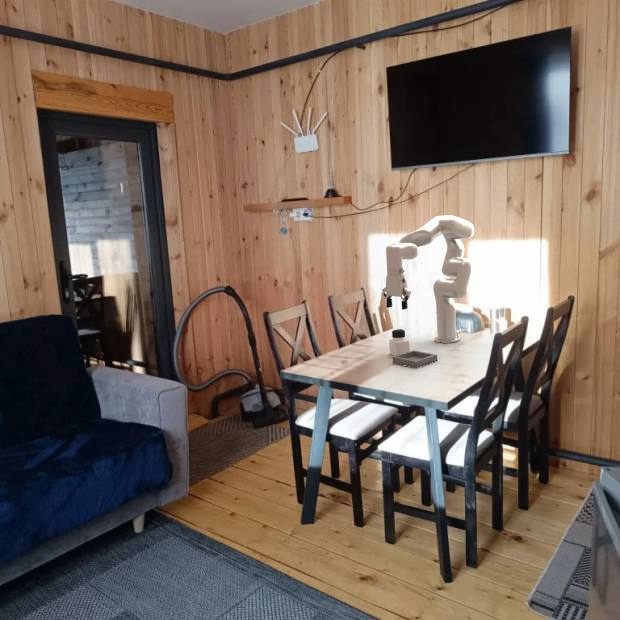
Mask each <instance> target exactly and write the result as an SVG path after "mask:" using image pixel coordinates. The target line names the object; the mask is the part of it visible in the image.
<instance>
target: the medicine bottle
mask: <svg viewBox="0 0 620 620" xmlns="http://www.w3.org/2000/svg"><path fill="white" fill-rule="evenodd" d="M388 343H389V345H388V348H389V354H390V355H391V354H392V355H391V356H393V355H394V356H397V355H400V354H403V353H406V352H410V351H411V350H410V340H409V339H406V331H405V329H402V328H397V329H393V330H392V331H391V339H389V340H388ZM394 356H393V357H394Z"/></svg>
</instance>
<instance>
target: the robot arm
mask: <svg viewBox="0 0 620 620" xmlns="http://www.w3.org/2000/svg"><path fill="white" fill-rule="evenodd" d="M474 234H475V227H474V225H473V223H471V221H469V220H466V219H463V218H461V217H458V216H455V215H438V216H434V218H431V220H430V221H428V222H426V224H424V226H421V228H418V229H417V230H414V231H413V232H410V233H408V234H406V235H404V236H403V235H402V237H400V238H398V239H397V240H396V241H395V242H394V243H392V244H391V245H388V246H386V247H385V253H386V254H385V255H386V259H385V260H386V277H385V287H384V288H382V289H381V291H382V295H383V296H384V299H385V300H386V301H385V302H386V308H388V309H389V308H392V307H393V298H392V297H400V298H401V310H403V311H404V310H407V309H408V301H409V298H410V297H411V294H412V291H411V290H409V289H408V282H407V278H406V274H404V273H405V269H404V260H414V259H415V258H417V256H418V255H419V252H420V251H419V250H420V249H419V247H424V246H427V245H429V244H431V243H432V242H434V241H435V240H436V239H437V238H439V237H440V236H441V235H442V236H443V238H444V240H445V243H446V253H445V256H444V258H443V263H442V266H441V273H442V275H444V276H445V277H450V278H439V279H437V280H436V281H434V283H433V287H432V288H433V289H432V290H433V295H434V298H435V306H436V307H435V309H436V331H437V332H436V334H437V336H435V337H434V342H437V343H440V342H441V343H443V344H447V343H449V344H451V343H457V342H460V340H461V338H460V336H458V335H459V334H462V332H463V330H462V329H459V330H458V329H457V311H456V310H457V308H456V303H455V300H454V299H459V300H461V299H464V298H465V297H466V295H467V294H468V291H469V287H470V284H471V281H472V277H473V273H474V264H473V262H472V260H470V259H468V258H466V257H465V258H464V253H465V248H464V247H465V246H464V244H463V242H462V241H461V240H469V239H470V238H472V237H473V236H474Z"/></svg>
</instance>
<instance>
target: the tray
mask: <svg viewBox="0 0 620 620" xmlns="http://www.w3.org/2000/svg"><path fill="white" fill-rule="evenodd" d="M409 351H410V352H406V353H403V354H400V355H397V356H392V364H394V363H397V364H396V365H399V364H401V365H400V366H403V365H406V366H405V367H408V366H410V367H409V368H412V367H416V368H415V369H418V368H417V367H419V368H421V367H420V366H422V367H425V366H428V365H431V364H433V363H432V362H434V363H436V362H435V361H437V362H438V361H439V357H438V354H435V353H430V352H425V351H419V350H414V349H413V350H409ZM430 363H431V364H430ZM427 364H428V365H427ZM424 365H425V366H424Z"/></svg>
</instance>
